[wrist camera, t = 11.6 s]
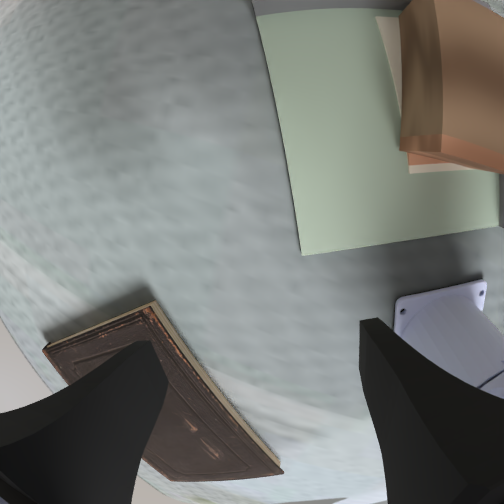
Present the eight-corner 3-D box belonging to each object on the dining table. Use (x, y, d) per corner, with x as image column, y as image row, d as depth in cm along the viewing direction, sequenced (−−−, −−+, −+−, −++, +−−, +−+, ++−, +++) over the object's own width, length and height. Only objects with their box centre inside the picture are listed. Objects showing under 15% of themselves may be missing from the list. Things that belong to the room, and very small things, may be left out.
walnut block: (398, 15, 12) (429, -19, 7) (468, 42, 11) (510, 22, 6) (399, 150, 14) (441, 152, 10) (470, 168, 14) (520, 178, 9)
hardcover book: (161, 292, 21) (148, 307, 18) (284, 457, 27) (283, 474, 24) (51, 339, 24) (39, 351, 22) (172, 468, 30) (167, 481, 28)
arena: (506, 222, 15) (525, 232, 13) (301, 253, 18) (303, 268, 16) (471, 12, 10) (488, 3, 8) (252, 4, 13) (248, -14, 11)
